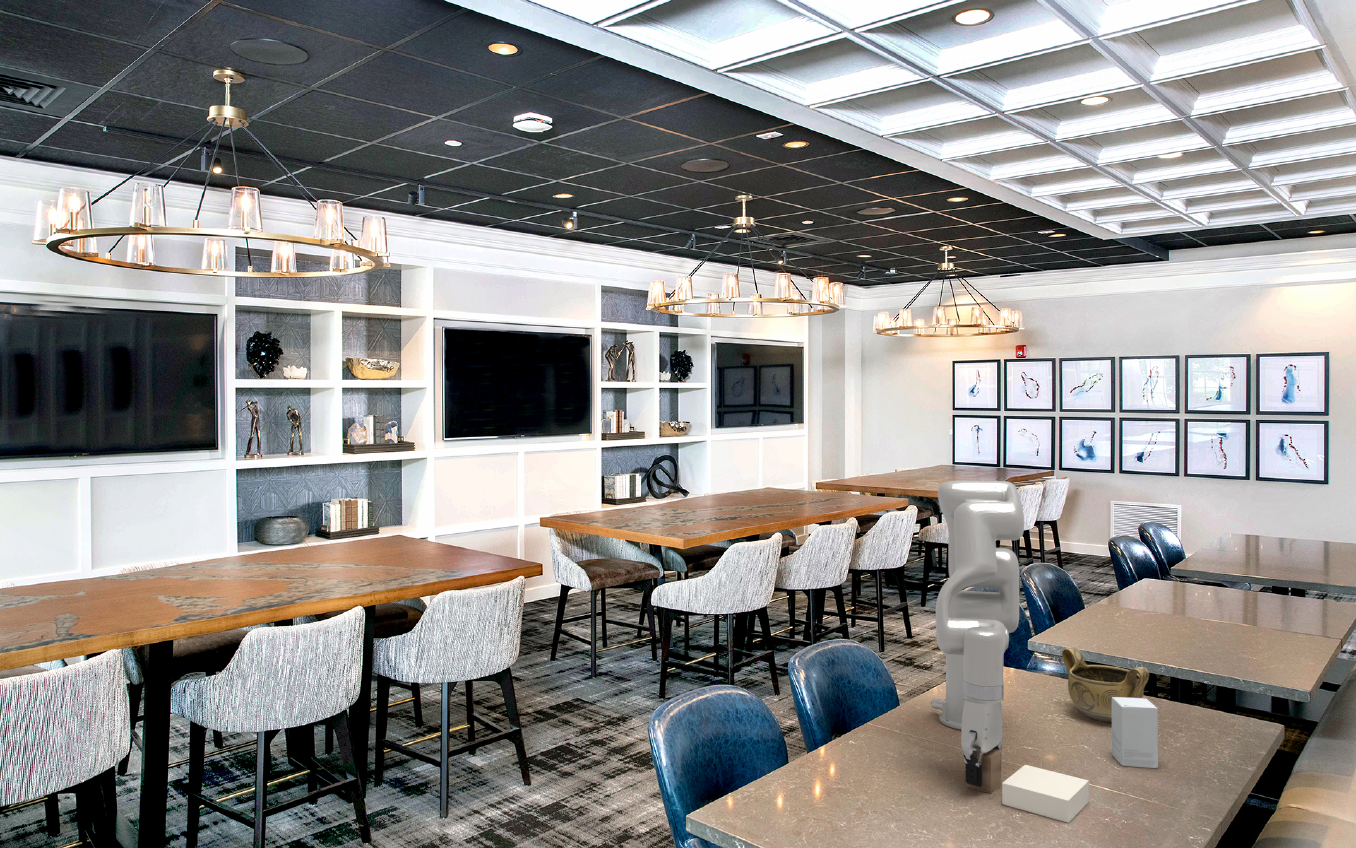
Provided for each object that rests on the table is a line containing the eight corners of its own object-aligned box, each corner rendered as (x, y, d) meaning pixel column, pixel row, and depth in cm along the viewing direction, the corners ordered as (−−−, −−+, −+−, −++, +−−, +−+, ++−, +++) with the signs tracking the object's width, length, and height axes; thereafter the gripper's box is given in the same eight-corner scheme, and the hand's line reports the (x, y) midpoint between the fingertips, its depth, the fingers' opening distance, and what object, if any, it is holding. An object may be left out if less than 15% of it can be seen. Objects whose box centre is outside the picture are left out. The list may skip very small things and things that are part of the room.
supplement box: (1159, 769, 184) (1158, 708, 184) (1120, 766, 185) (1120, 706, 185) (1147, 756, 191) (1147, 697, 191) (1110, 753, 193) (1110, 695, 193)
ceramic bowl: (1043, 709, 223) (1043, 650, 223) (1090, 700, 230) (1089, 642, 230) (1122, 737, 203) (1121, 672, 203) (1170, 726, 210) (1170, 663, 210)
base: (1002, 804, 167) (1002, 783, 167) (1025, 784, 176) (1025, 764, 176) (1068, 823, 159) (1068, 800, 159) (1089, 801, 168) (1088, 780, 168)
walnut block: (966, 786, 175) (966, 751, 175) (976, 779, 179) (976, 744, 179) (991, 793, 172) (991, 757, 172) (1001, 786, 175) (1000, 750, 175)
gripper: (982, 677, 184) (982, 760, 184) (946, 697, 171) (946, 785, 171) (1018, 684, 179) (1018, 769, 179) (984, 705, 166) (984, 796, 166)
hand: (983, 777), depth 175 cm, fingers open, 9 cm apart
